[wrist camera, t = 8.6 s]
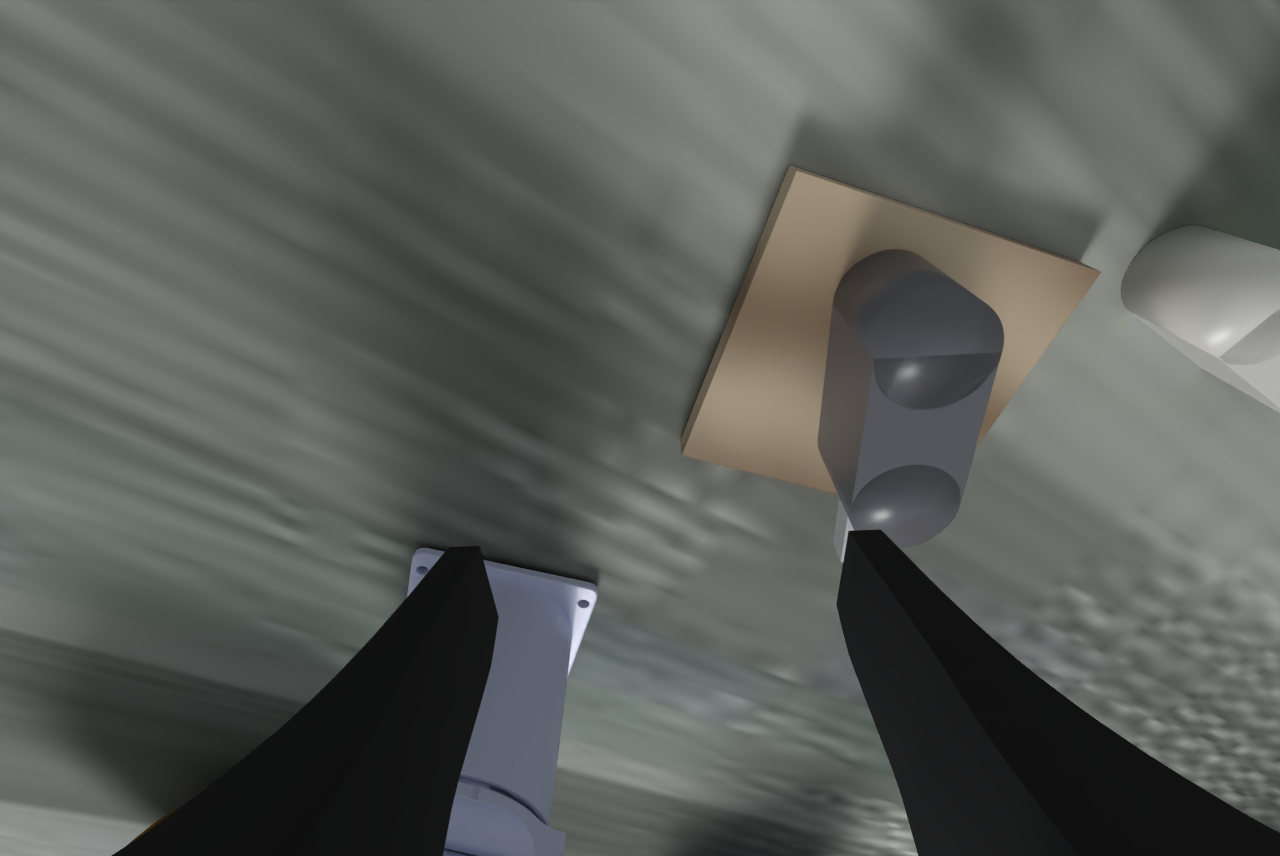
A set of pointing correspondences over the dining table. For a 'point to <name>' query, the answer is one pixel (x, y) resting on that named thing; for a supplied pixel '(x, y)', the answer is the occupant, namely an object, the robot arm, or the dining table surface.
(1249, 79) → the dining table surface
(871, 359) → the charcoal plug
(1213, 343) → the offwhite plug
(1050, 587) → the dining table surface
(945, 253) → the cork pad
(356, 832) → the robot arm
